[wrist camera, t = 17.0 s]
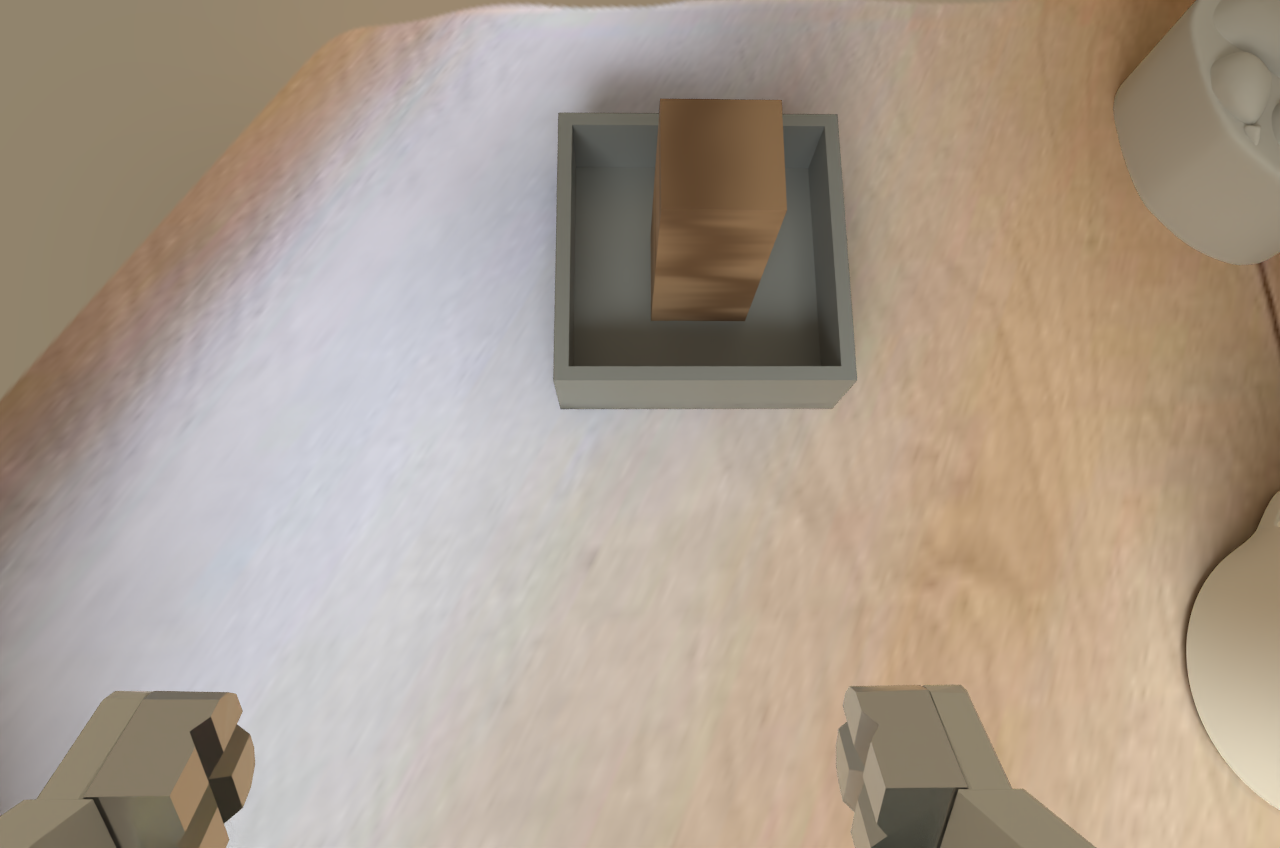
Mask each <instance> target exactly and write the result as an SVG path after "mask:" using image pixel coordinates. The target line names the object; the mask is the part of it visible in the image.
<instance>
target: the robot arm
mask: <svg viewBox="0 0 1280 848" xmlns="http://www.w3.org/2000/svg"><path fill="white" fill-rule="evenodd" d="M1186 658H1187V670H1188V678H1189V683H1190V688H1191V692H1192V695H1193V699H1194V702H1195V705H1196V708H1197V711H1198V713H1199V716H1200V718H1201V721H1202V723H1203V725H1204V727H1205V729H1206V731H1207V733H1208V735H1209V737H1210V739H1211V740H1212V742H1213V744H1214V745H1215V747H1216V749H1217V750H1218V752H1219V753H1220V755H1221V756H1222V757H1223V759H1224V760H1225V761H1226V763H1227V764H1228V765H1229V766H1230V768H1231V769H1232V770H1233V771H1234V772H1235V774H1236V775H1237V776H1238V777H1239V778H1240V779H1241V780H1242V781H1243V782H1244V783H1245V784H1246V785H1247V786H1248V787H1249V788H1250V789H1252V790H1253V791H1254V792H1255V793H1256V794H1257V795H1259V796H1260V797H1261V798H1262V799H1264V800H1265V801H1266V802H1268V803H1269V804H1271V805H1272V806H1273V807H1275V808H1277V809H1278V810H1280V491H1278V492H1277V493H1276V494H1275V495H1274V496H1273V498H1272V499H1271V501H1270V502H1269V504H1268V506H1267V508H1266V510H1265V512H1264V514H1263V516H1262V519H1261V521H1260V523H1259V526H1258V528H1257V530H1256V532H1255V533H1254V534H1253V535H1252V536H1251V537H1250V538H1249V539H1248V540H1247V541H1246V542H1245V543H1243V544H1242V545H1241V546H1239V547H1238V548H1237V549H1235V550H1234V551H1233V552H1232V553H1230V554H1229V555H1228V556H1227V557H1226V558H1224V559H1223V560H1222V561H1221V562H1220V563H1219V564H1218V565H1217V567H1216V568H1215V569H1214V570H1213V571H1212V573H1211V574H1210V575H1209V577H1208V578H1207V580H1206V581H1205V583H1204V584H1203V586H1202V588H1201V590H1200V592H1199V594H1198V596H1197V599H1196V601H1195V603H1194V606H1193V610H1192V613H1191V617H1190V621H1189V626H1188V632H1187V643H1186ZM843 708H844V712H845V716H846V719H847V722H846V723H845V724H844V725H843V726H841V727H840V728H839V729H838V736H837V742H836V769H837V775H838V782H839V787H840V791H841V795H842V799H843V801H844V802H845V803H846V804H847V805H848V806H849V807H850V808H851V809H852V810H853V811H854V812H855V814H854V819H853V824H852V829H851V834H852V838H853V842H854V846H855V848H1096V847H1095V846H1093V845H1092V844H1091V843H1090V842H1088V841H1087V840H1086V839H1085V838H1084V837H1082V836H1081V835H1080V834H1079V833H1077V832H1076V831H1075V830H1074V829H1072V828H1071V827H1070V826H1069V825H1068V824H1066V823H1065V822H1064V821H1063V820H1061V819H1060V818H1059V817H1058V816H1056V815H1055V814H1054V813H1053V812H1052V811H1050V810H1049V809H1048V808H1047V807H1045V806H1044V805H1043V804H1042V803H1040V802H1039V801H1038V800H1037V799H1036V798H1034V797H1033V796H1032V795H1031V794H1029V793H1028V792H1027V791H1026V790H1024V789H1012V787H1011V785H1010V783H1009V780H1008V778H1007V776H1006V774H1005V772H1004V770H1003V767H1002V765H1001V763H1000V761H999V759H998V757H997V755H996V752H995V750H994V748H993V746H992V744H991V742H990V739H989V737H988V735H987V733H986V731H985V729H984V726H983V724H982V722H981V720H980V718H979V716H978V713H977V711H976V709H975V707H974V705H973V703H972V701H971V698H970V696H969V694H968V692H967V690H966V689H965V688H964V687H962V686H961V685H923V686H921V685H891V686H849V688H848V690H847V691H846V693H845V698H844V703H843ZM242 712H243V711H242V708H241V705H240V703H239V700H238V697H237V695H236V694H234V693H229V692H179V691H115V692H113V693H112V694H110V695H109V696H108V697H106V698H105V699H104V700H103V701H102V702H101V703H100V705H99V706H98V708H97V709H96V711H95V712H94V714H93V715H92V717H91V718H90V720H89V721H88V723H87V724H86V726H85V727H84V729H83V730H82V732H81V733H80V735H79V736H78V738H77V739H76V741H75V742H74V744H73V745H72V747H71V748H70V750H69V751H68V753H67V754H66V756H65V757H64V759H63V760H62V762H61V763H60V765H59V766H58V768H57V769H56V771H55V772H54V774H53V775H52V777H51V778H50V780H49V781H48V783H47V784H46V786H45V787H44V789H43V790H42V792H41V793H40V795H39V796H38V798H37V799H36V800H23V801H22V802H21V803H19V804H18V805H16V806H15V807H13V808H12V809H10V810H9V811H7V812H6V813H5V814H3V815H2V816H0V848H226V846H227V844H228V841H229V837H228V835H227V832H226V829H225V826H224V823H225V822H226V821H228V820H229V819H230V818H231V817H232V816H234V815H235V814H236V813H237V812H238V811H239V810H241V809H242V808H243V806H244V803H245V801H246V798H247V796H248V793H249V791H250V788H251V784H252V778H253V773H254V767H255V755H254V746H253V742H252V739H251V736H250V734H249V733H248V732H246V731H245V730H244V729H242V728H241V727H240V726H238V725H237V722H238V720H239V718H240V716H241V714H242Z"/></svg>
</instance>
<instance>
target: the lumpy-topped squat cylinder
mask: <svg viewBox="0 0 1280 848" xmlns="http://www.w3.org/2000/svg"><path fill="white" fill-rule="evenodd" d="M1113 112H1114V120H1115V125H1116V129H1117V134H1118V138H1119V142H1120V146H1121V150H1122V153H1123V157H1124V160H1125V163H1126V165H1127V168H1128V171H1129V173H1130V176H1131V179H1132V181H1133V183H1134V186H1135V188H1136V190H1137V192H1138V194H1139V196H1140V198H1141V200H1142V201H1143V203H1144V204H1145V206H1146V207H1147V208H1148V209H1149V210H1150V212H1151V213H1152V214H1153V215H1154V216H1155V217H1156V218H1157V219H1158V220H1159V221H1160V222H1161V223H1162V224H1163V225H1165V226H1166V227H1167V228H1168V229H1169V230H1170V231H1171V232H1172V233H1173V234H1174V235H1176V236H1177V237H1178V238H1179V239H1181V240H1182V241H1183V242H1184V243H1186V244H1187V245H1189V246H1190V247H1192V248H1194V249H1195V250H1197V251H1199V252H1201V253H1203V254H1205V255H1207V256H1210V257H1212V258H1214V259H1217V260H1220V261H1223V262H1226V263H1230V264H1235V265H1252V264H1257V263H1260V262H1263V261H1266V260H1268V259H1269V258H1271V257H1273V256H1274V255H1276V254H1278V253H1279V252H1280V0H1196V1H1195V2H1194V3H1193V4H1192V5H1191V7H1190V8H1189V9H1188V10H1187V11H1186V12H1185V13H1184V14H1183V15H1182V17H1181V18H1180V19H1179V20H1178V21H1177V22H1176V23H1175V24H1174V26H1173V27H1172V28H1171V29H1170V30H1169V31H1168V32H1167V33H1166V35H1165V36H1164V37H1163V38H1162V39H1161V40H1160V41H1159V43H1158V44H1157V45H1156V46H1155V47H1154V48H1153V49H1152V50H1151V52H1150V53H1149V54H1148V55H1147V56H1146V57H1145V58H1144V59H1143V61H1142V62H1141V63H1140V64H1139V65H1138V66H1137V67H1136V68H1135V70H1134V71H1133V72H1132V73H1131V74H1130V75H1129V76H1128V77H1127V79H1126V80H1125V81H1124V82H1123V83H1122V84H1121V86H1120V87H1119V89H1118V91H1117V93H1116V96H1115V99H1114V106H1113Z"/></svg>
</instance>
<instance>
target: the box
mask: <svg viewBox="0 0 1280 848" xmlns="http://www.w3.org/2000/svg"><path fill="white" fill-rule="evenodd" d="M782 118H783V139H784V159H785V179H786V199H787V211H786V214H785V217H784V219H783V222H782V225H781V227H780V230H779V233H778V235H777V238H776V240H775V243H774V246H773V248H772V251H771V254H770V256H769V259H768V262H767V264H766V267H765V269H764V272H763V275H762V277H761V280H760V283H759V285H758V288H757V291H756V293H755V296H754V298H753V301H752V304H751V306H750V309H749V312H748V314H747V317H746V320H745V321H651V221H652V207H653V193H654V179H655V165H656V151H657V137H658V123H659V113H558V164H557V217H556V269H555V321H554V374H553V381H554V385H555V389H556V393H557V397H558V401H559V404H560V408H561V409H832V408H833V407H834V406H835V405H836V404H837V403H838V401H839V400H840V399H841V398H842V397H843V396H844V395H845V393H846V392H847V391H848V390H849V389H850V388H851V387H852V386H853V384H854V383H855V382H856V381H857V372H856V358H855V345H854V331H853V318H852V304H851V291H850V277H849V264H848V251H847V237H846V224H845V210H844V197H843V183H842V170H841V156H840V143H839V129H838V116H837V114H782Z"/></svg>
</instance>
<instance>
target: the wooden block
mask: <svg viewBox="0 0 1280 848" xmlns="http://www.w3.org/2000/svg"><path fill="white" fill-rule="evenodd" d="M786 211H787V199H786V179H785V159H784V139H783V118H782V100H731V99H660V108H659V123H658V137H657V151H656V165H655V179H654V193H653V207H652V221H651V321H745V320H746V317H747V314H748V312H749V309H750V306H751V304H752V301H753V298H754V296H755V293H756V291H757V288H758V285H759V283H760V280H761V277H762V275H763V272H764V269H765V267H766V264H767V262H768V259H769V256H770V254H771V251H772V248H773V246H774V243H775V240H776V238H777V235H778V233H779V230H780V227H781V225H782V222H783V219H784V217H785V214H786Z"/></svg>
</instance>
